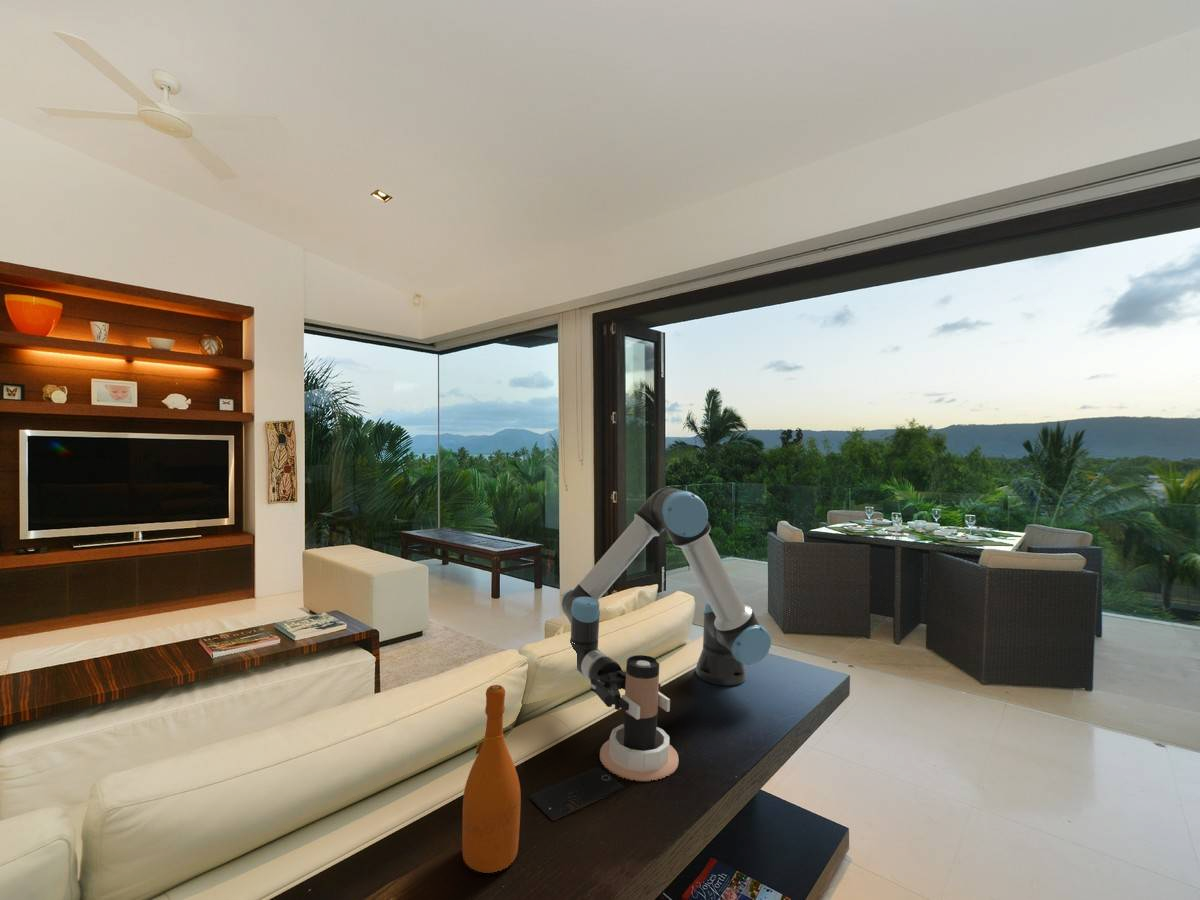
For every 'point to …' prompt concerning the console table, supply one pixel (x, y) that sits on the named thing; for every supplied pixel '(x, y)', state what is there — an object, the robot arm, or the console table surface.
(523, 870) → the console table surface
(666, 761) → the white and pink ring
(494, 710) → the wine bottle
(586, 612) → the robot arm
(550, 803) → the cell phone
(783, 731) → the console table surface
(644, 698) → the travel mug
